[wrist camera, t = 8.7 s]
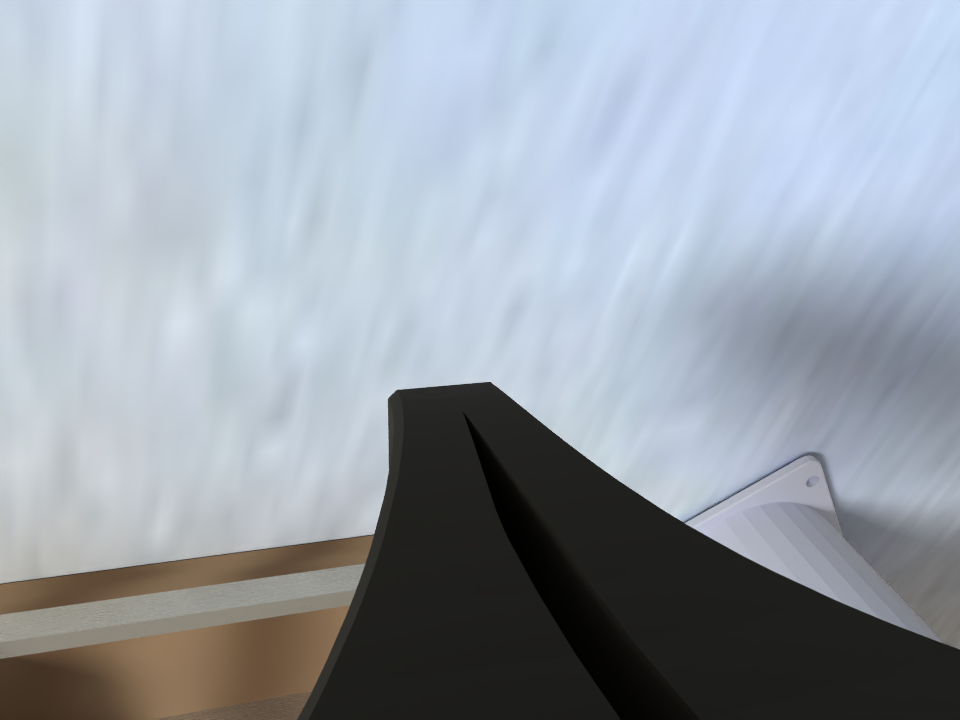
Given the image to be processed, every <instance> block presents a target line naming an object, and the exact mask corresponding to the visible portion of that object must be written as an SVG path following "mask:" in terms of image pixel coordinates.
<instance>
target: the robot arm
mask: <svg viewBox="0 0 960 720" xmlns="http://www.w3.org/2000/svg"><path fill="white" fill-rule="evenodd" d="M388 429H389V474H388V480H387V486H386V491H385V496H384V500H383V504H382V508H381V511H380V515H379V519H378V523H377V526H376V530H375V534H374V538H373V541H372V545H371V548H370V551H369V554H368V557H367V560H366V563H365V566H364V569H363V572H362V575H361V578H360V581H359V583H358V586H357V589H356V591H355V594H354V596H353V599H352V602H351V604H350V607H349V610H348V612H347V615H346V617H345V619H344V622H343V624H342V626H341V628H340V631H339V633H338V635H337V638H336V640H335V642H334V645H333V647H332V649H331V652H330V654H329V656H328V658H327V661H326V663H325V665H324V667H323V669H322V671H321V674H320V676H319V678H318V680H317V682H316V684H315V686H314V688H313V690H312V692H311V694H310V696H309V698H308V700H307V702H306V704H305V706H304V708H303V710H302V712H301V713H300V715H299V717H298V719H297V720H960V650H959V649H957V648H954V647H951V646H949V645H946V644H945V643H944V642H943V641H942V640H941V639H940V638H939V637H938V636H937V635H936V634H935V633H934V632H933V631H932V630H931V629H930V628H929V626H928V625H927V624H926V623H925V622H924V621H923V620H922V619H921V618H920V617H919V616H918V615H917V614H916V613H915V612H914V611H913V610H912V609H911V608H910V607H909V606H908V605H907V603H906V602H905V601H904V600H903V599H902V598H901V597H900V596H899V595H898V594H897V593H896V592H895V591H894V590H893V589H892V588H891V587H890V586H889V585H888V584H887V583H886V582H885V580H884V579H883V578H882V577H881V576H880V575H879V574H878V573H877V572H876V571H875V570H874V569H873V568H872V567H871V566H870V565H869V564H868V563H867V562H866V561H865V560H864V559H863V558H862V556H861V555H860V554H859V553H858V552H857V551H856V550H855V549H854V548H853V547H852V546H851V545H850V544H849V543H848V542H847V541H846V540H845V539H844V537H843V534H842V531H841V528H840V524H839V521H838V518H837V514H836V511H835V508H834V505H833V501H832V498H831V495H830V492H829V488H828V485H827V482H826V479H825V475H824V472H823V469H822V466H821V464H820V462H819V461H818V460H817V459H816V458H815V457H813V456H811V455H809V456H803V457H801V458H799V459H797V460H796V461H794V462H792V463H790V464H788V465H787V466H785V467H783V468H781V469H780V470H778V471H776V472H774V473H773V474H771V475H769V476H767V477H765V478H764V479H762V480H760V481H758V482H757V483H755V484H753V485H751V486H750V487H748V488H746V489H744V490H742V491H741V492H739V493H737V494H735V495H734V496H732V497H730V498H728V499H727V500H725V501H723V502H721V503H720V504H718V505H716V506H714V507H712V508H711V509H709V510H707V511H705V512H704V513H702V514H700V515H698V516H697V517H695V518H693V519H691V520H689V521H688V522H686V523H683V522H682V521H680V520H678V519H677V518H675V517H673V516H672V515H670V514H668V513H667V512H665V511H664V510H662V509H660V508H659V507H657V506H656V505H654V504H653V503H651V502H650V501H648V500H647V499H645V498H644V497H642V496H641V495H639V494H638V493H636V492H635V491H633V490H632V489H630V488H629V487H627V486H626V485H624V484H623V483H621V482H620V481H618V480H617V479H615V478H614V477H612V476H611V475H610V474H608V473H607V472H605V471H604V470H603V469H601V468H600V467H598V466H597V465H596V464H594V463H593V462H592V461H590V460H589V459H587V458H586V457H585V456H583V455H582V454H581V453H579V452H578V451H577V450H575V449H574V448H573V447H572V446H570V445H569V444H568V443H566V442H565V441H564V440H562V439H561V438H560V437H559V436H557V435H556V434H555V433H553V432H552V431H551V430H550V429H548V428H547V427H546V426H545V425H543V424H542V423H541V422H540V421H538V420H537V419H536V418H535V417H533V416H532V415H531V414H530V413H528V412H527V411H526V410H525V409H524V408H522V407H521V406H520V405H519V404H517V403H516V402H515V401H514V400H513V399H511V398H510V397H509V396H508V395H506V394H505V393H504V392H503V391H501V390H500V389H499V388H497V387H496V386H495V385H493V384H492V383H491V382H484V383H472V384H461V385H449V386H438V387H426V388H415V389H403V390H397V391H395V392H394V393H393V394H392V395H391V396H390V397H389V398H388Z"/></svg>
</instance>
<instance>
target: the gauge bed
mask: <svg viewBox="0 0 960 720" xmlns="http://www.w3.org/2000/svg"><path fill="white" fill-rule="evenodd" d="M373 538H374V535H371V536H363V537H356V538H348V539H340V540H333V541H325V542H318V543H310V544H303V545H295V546H287V547H280V548H272V549H265V550H257V551H250V552H242V553H234V554H227V555H219V556H212V557H204V558H197V559H189V560H181V561H174V562H166V563H159V564H151V565H144V566H136V567H128V568H121V569H113V570H106V571H98V572H91V573H83V574H75V575H68V576H60V577H53V578H45V579H38V580H30V581H23V582H15V583H7V584H0V615H3V614H10V613H17V612H24V611H32V610H39V609H46V608H53V607H60V606H67V605H74V604H81V603H88V602H95V601H103V600H110V599H117V598H124V597H131V596H138V595H145V594H152V593H159V592H167V591H174V590H181V589H188V588H195V587H202V586H209V585H216V584H223V583H231V582H238V581H245V580H252V579H259V578H266V577H273V576H280V575H287V574H295V573H302V572H309V571H316V570H323V569H330V568H337V567H344V566H351V565H359V564H365V563H366V560H367V557H368V554H369V551H370V548H371V545H372V541H373ZM349 607H350V605H349V606H342V607H336V608H329V609H323V610H316V611H310V612H303V613H297V614H290V615H284V616H277V617H270V618H264V619H257V620H251V621H244V622H238V623H231V624H225V625H218V626H212V627H205V628H199V629H192V630H185V631H179V632H172V633H166V634H159V635H153V636H146V637H140V638H133V639H127V640H120V641H114V642H107V643H101V644H94V645H87V646H81V647H74V648H68V649H61V650H55V651H48V652H42V653H35V654H29V655H22V656H16V657H9V658H2V659H0V720H152V719H157V718H163V717H169V716H174V715H180V714H185V713H191V712H197V711H202V710H208V709H214V708H219V707H225V706H231V705H236V704H242V703H247V702H253V701H259V700H264V699H270V698H276V697H281V696H287V695H292V694H298V693H304V692H309V691H312V690H313V688H314V686H315V684H316V682H317V680H318V678H319V676H320V674H321V671H322V669H323V667H324V665H325V663H326V661H327V658H328V656H329V654H330V652H331V649H332V647H333V645H334V642H335V640H336V638H337V635H338V633H339V631H340V628H341V626H342V624H343V622H344V619H345V617H346V615H347V612H348V610H349Z"/></svg>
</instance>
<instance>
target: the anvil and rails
mask: <svg viewBox="0 0 960 720" xmlns="http://www.w3.org/2000/svg"><path fill="white" fill-rule="evenodd" d="M364 566H365V564H359V565H351V566H344V567H337V568H330V569H323V570H316V571H309V572H302V573H295V574H287V575H280V576H273V577H266V578H259V579H252V580H245V581H238V582H231V583H223V584H216V585H209V586H202V587H195V588H188V589H181V590H174V591H167V592H159V593H152V594H145V595H138V596H131V597H124V598H117V599H110V600H103V601H95V602H88V603H81V604H74V605H67V606H60V607H53V608H46V609H39V610H32V611H24V612H17V613H10V614H3V615H0V659H2V658H9V657H16V656H22V655H29V654H35V653H42V652H48V651H55V650H61V649H68V648H74V647H81V646H87V645H94V644H101V643H107V642H114V641H120V640H127V639H133V638H140V637H146V636H153V635H159V634H166V633H172V632H179V631H185V630H192V629H199V628H205V627H212V626H218V625H225V624H231V623H238V622H244V621H251V620H257V619H264V618H270V617H277V616H284V615H290V614H297V613H303V612H310V611H316V610H323V609H329V608H336V607H342V606H349V605H350V604H351V602H352V599H353V596H354V594H355V591H356V589H357V586H358V583H359V581H360V578H361V575H362V572H363V569H364ZM311 692H312V691H309V692H304V693H298V694H292V695H287V696H281V697H276V698H270V699H264V700H259V701H253V702H247V703H242V704H236V705H231V706H225V707H219V708H214V709H208V710H202V711H197V712H191V713H185V714H180V715H174V716H169V717H163V718H157V719H152V720H297V719H298V717H299V715H300V713H301V712H302V710H303V708H304V706H305V704H306V702H307V700H308V698H309V696H310V694H311Z"/></svg>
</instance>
